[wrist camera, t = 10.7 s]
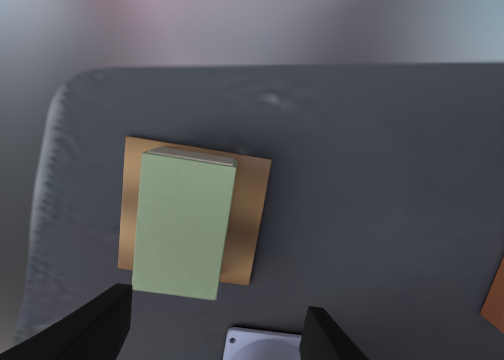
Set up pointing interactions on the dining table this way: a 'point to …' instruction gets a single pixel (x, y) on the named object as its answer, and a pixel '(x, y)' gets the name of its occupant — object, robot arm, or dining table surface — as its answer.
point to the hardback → (495, 301)
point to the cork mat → (241, 214)
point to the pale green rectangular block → (182, 221)
